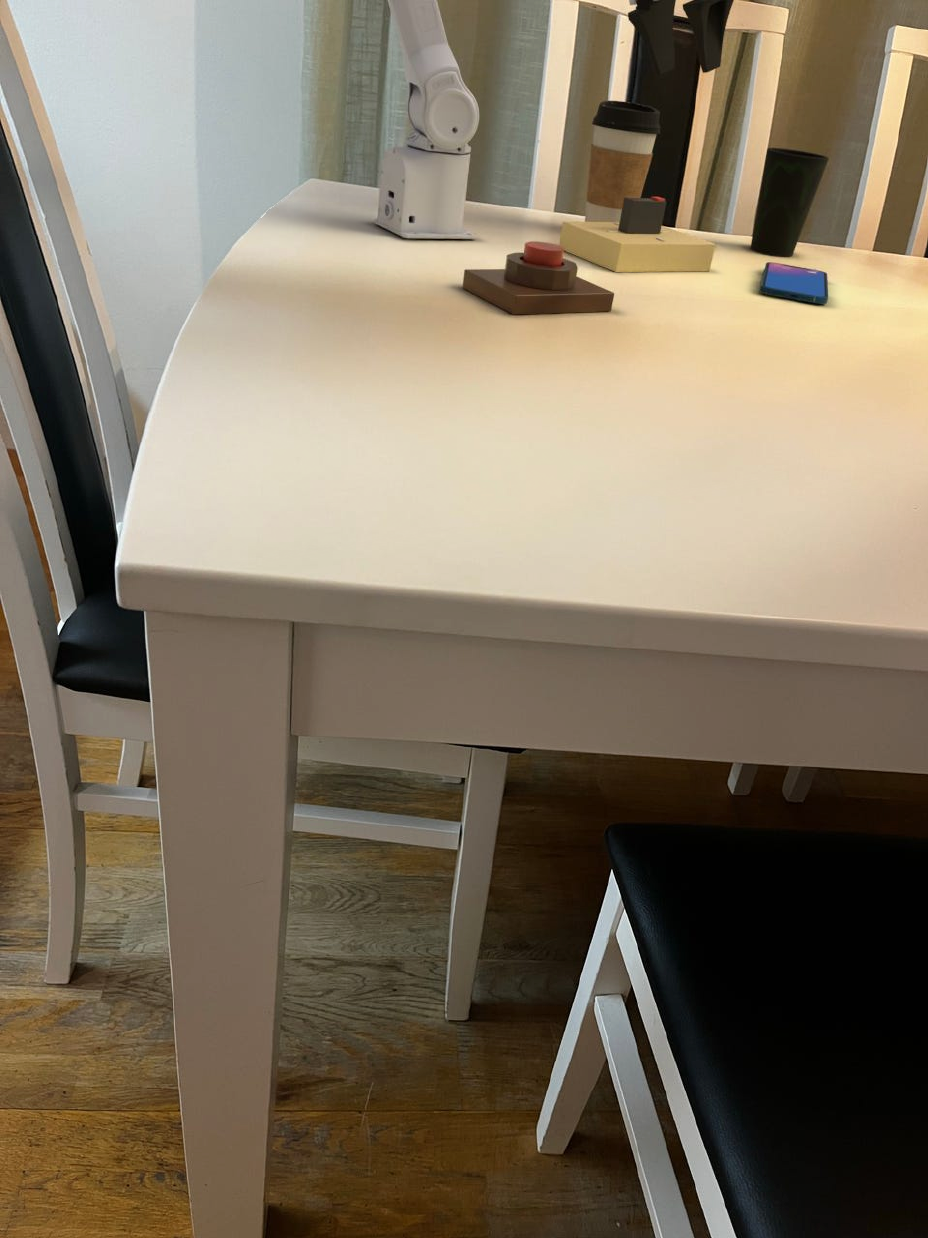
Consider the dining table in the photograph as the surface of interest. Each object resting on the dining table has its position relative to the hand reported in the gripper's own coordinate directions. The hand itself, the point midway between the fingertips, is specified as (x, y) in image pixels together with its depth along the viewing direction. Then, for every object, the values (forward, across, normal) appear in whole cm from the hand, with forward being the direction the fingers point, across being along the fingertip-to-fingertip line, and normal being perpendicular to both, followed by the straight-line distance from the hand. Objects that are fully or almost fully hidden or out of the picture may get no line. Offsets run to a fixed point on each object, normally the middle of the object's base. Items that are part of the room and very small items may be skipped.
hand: (688, 70), depth 109 cm
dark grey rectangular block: (+13, -3, +12) cm, 18 cm away
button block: (+9, -18, +36) cm, 41 cm away
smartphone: (+22, -15, +2) cm, 27 cm away
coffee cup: (+17, +10, +8) cm, 21 cm away
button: (+6, -18, +35) cm, 40 cm away
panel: (+16, -2, +14) cm, 21 cm away
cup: (+26, +2, -12) cm, 28 cm away
